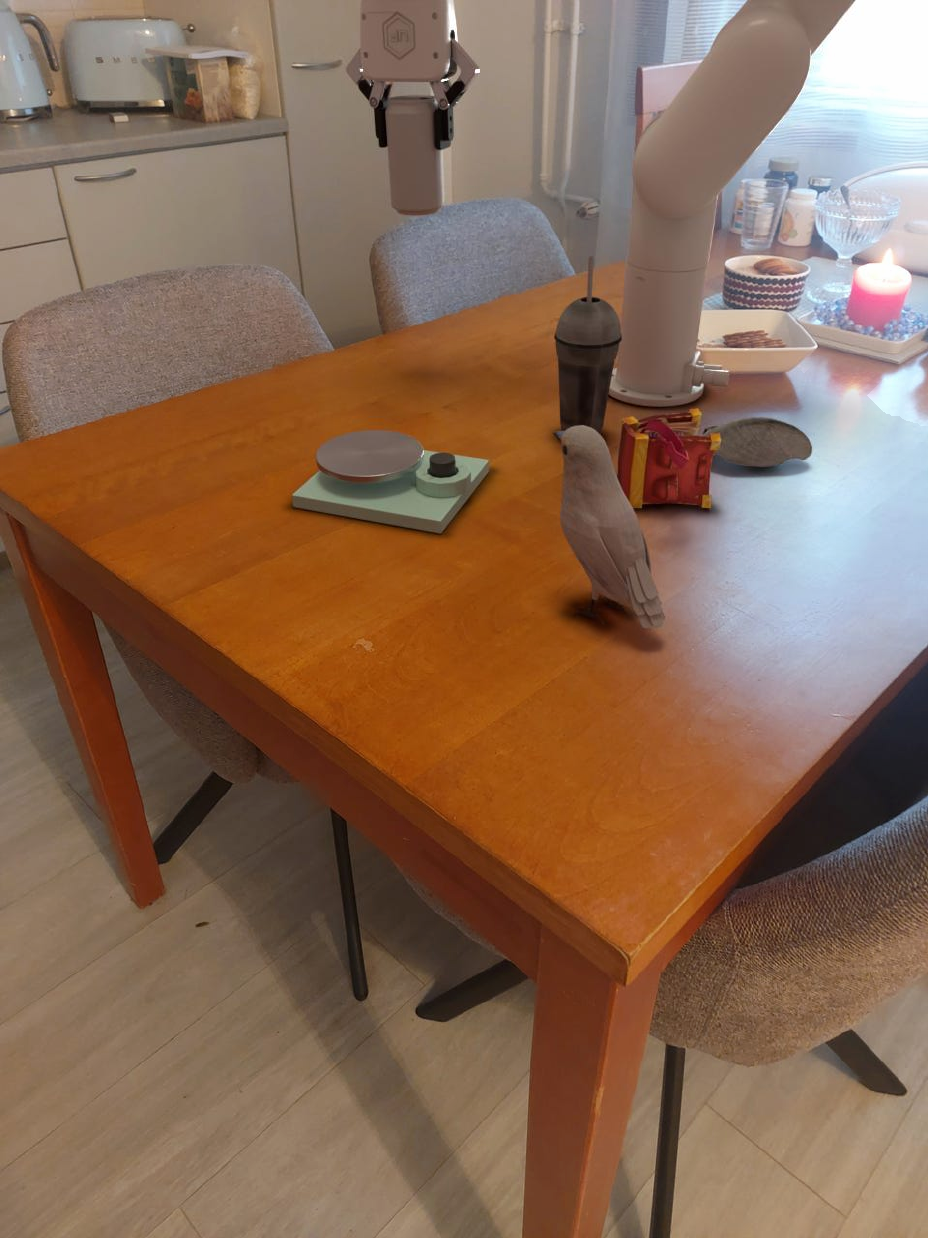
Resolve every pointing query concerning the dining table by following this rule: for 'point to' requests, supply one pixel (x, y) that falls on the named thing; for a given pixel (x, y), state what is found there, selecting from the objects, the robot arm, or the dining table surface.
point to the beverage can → (414, 155)
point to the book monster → (666, 460)
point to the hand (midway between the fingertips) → (414, 145)
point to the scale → (397, 495)
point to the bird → (605, 529)
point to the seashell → (760, 441)
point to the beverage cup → (586, 358)
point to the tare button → (442, 465)
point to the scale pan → (369, 456)
